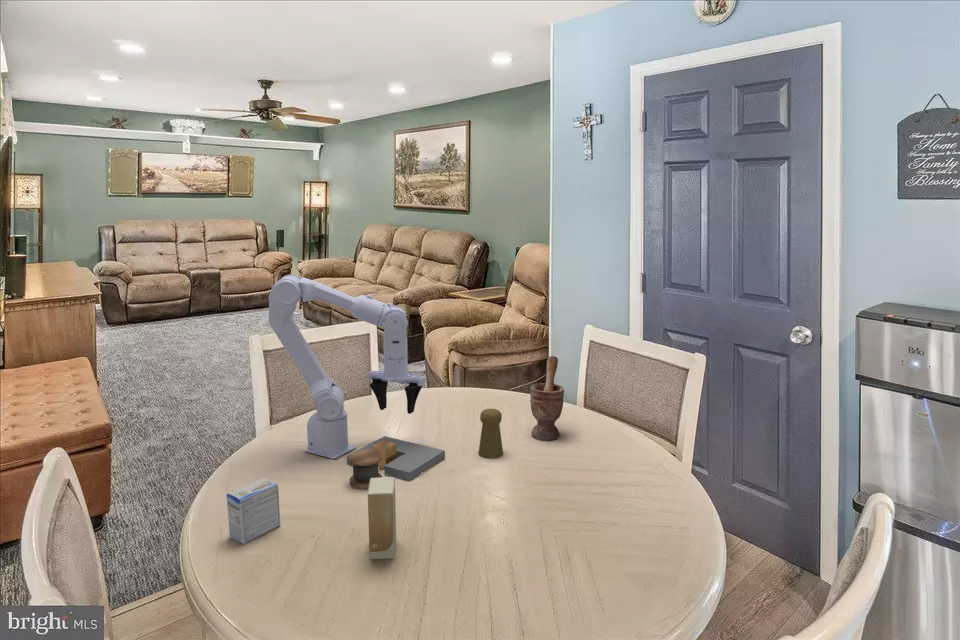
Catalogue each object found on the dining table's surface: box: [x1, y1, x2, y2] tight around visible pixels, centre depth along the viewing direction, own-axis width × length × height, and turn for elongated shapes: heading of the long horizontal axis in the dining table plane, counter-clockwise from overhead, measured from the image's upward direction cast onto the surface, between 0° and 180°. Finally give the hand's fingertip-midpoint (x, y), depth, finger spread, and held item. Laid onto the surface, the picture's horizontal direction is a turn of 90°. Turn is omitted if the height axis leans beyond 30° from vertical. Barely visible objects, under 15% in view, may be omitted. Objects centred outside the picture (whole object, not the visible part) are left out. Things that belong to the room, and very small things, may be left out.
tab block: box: [372, 440, 397, 470], centre depth 138 cm, size 4×4×5 cm
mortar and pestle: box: [529, 355, 565, 441], centre depth 157 cm, size 12×9×20 cm
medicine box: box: [226, 477, 281, 545], centre depth 109 cm, size 8×4×9 cm, turn 145°
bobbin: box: [348, 449, 383, 490], centre depth 130 cm, size 7×7×6 cm
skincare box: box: [367, 476, 397, 560], centre depth 103 cm, size 6×4×12 cm
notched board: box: [346, 436, 446, 482], centre depth 141 cm, size 18×14×2 cm
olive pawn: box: [477, 408, 504, 460], centre depth 144 cm, size 6×6×11 cm
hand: (396, 410), depth 148 cm, fingers open, 7 cm apart
